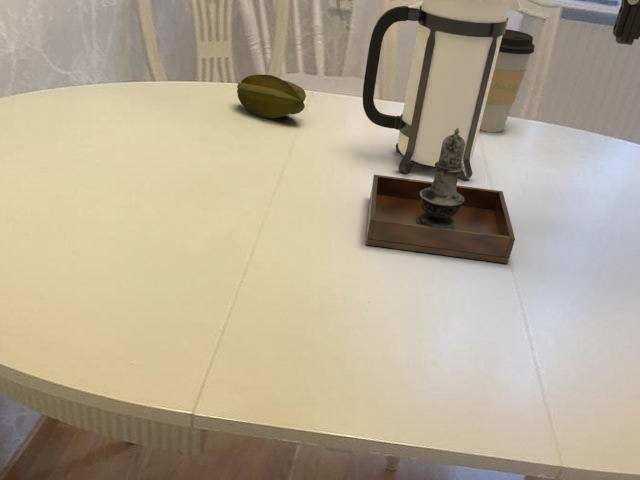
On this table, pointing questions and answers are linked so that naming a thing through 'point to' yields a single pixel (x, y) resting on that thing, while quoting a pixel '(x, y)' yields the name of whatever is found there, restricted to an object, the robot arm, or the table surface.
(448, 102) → the coffee press
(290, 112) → the fruit
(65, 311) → the table surface
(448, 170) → the salt shaker
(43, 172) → the table surface
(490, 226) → the tray
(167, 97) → the table surface
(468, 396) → the table surface
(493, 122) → the coffee cup
